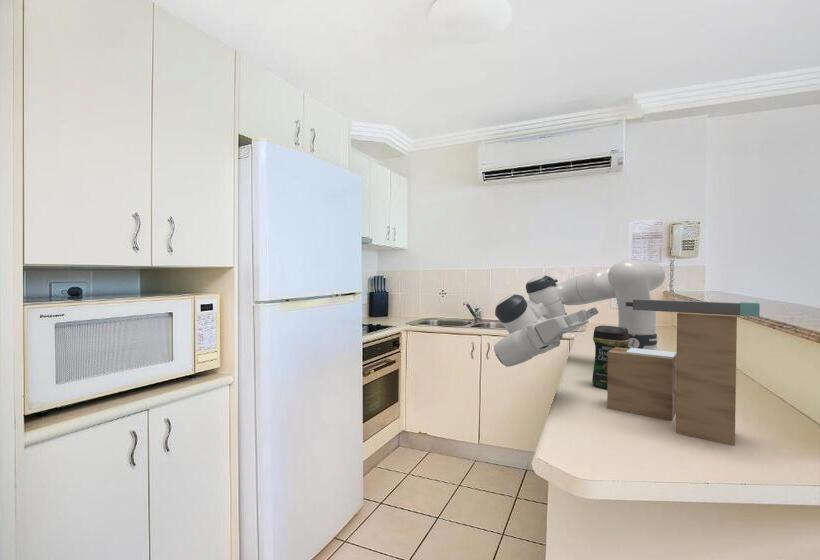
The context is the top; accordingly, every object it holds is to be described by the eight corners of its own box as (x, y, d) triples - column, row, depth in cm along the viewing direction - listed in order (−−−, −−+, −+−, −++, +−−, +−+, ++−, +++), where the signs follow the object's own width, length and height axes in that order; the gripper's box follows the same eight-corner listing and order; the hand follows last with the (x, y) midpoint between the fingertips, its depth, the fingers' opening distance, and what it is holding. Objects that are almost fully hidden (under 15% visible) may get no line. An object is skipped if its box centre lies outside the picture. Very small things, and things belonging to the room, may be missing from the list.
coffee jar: (588, 386, 123) (589, 325, 122) (598, 381, 128) (599, 323, 128) (623, 393, 116) (623, 329, 115) (631, 387, 121) (632, 326, 121)
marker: (627, 308, 97) (627, 298, 97) (758, 315, 82) (759, 302, 82) (625, 309, 95) (625, 298, 95) (759, 316, 80) (759, 303, 80)
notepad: (631, 349, 106) (631, 347, 106) (676, 354, 100) (676, 352, 100) (625, 353, 101) (625, 351, 101) (673, 358, 94) (673, 357, 94)
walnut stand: (614, 400, 109) (615, 304, 109) (735, 422, 93) (736, 310, 93) (598, 416, 97) (599, 309, 96) (734, 445, 81) (736, 316, 80)
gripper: (564, 339, 117) (608, 318, 109) (535, 349, 101) (585, 326, 94) (553, 320, 119) (596, 298, 111) (523, 327, 103) (571, 302, 96)
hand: (591, 311), depth 102 cm, fingers open, 8 cm apart
